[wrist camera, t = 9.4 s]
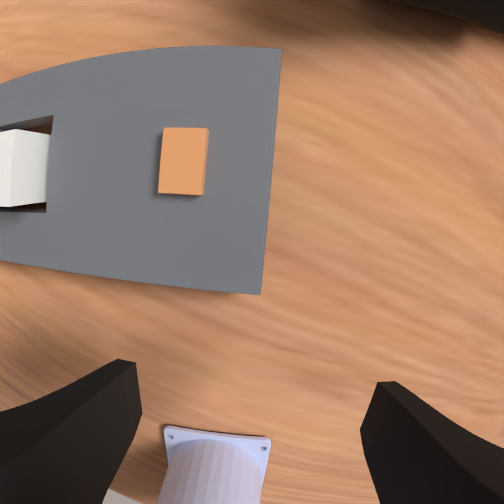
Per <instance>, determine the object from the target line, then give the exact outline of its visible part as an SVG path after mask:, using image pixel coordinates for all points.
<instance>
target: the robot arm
mask: <svg viewBox="0 0 504 504" xmlns="http://www.w3.org/2000/svg"><path fill="white" fill-rule="evenodd" d="M141 415H142V406H141V400H140V392H139V385H138V377H137V369H136V363H135V362H130V361H126V360H121V359H116V360H114V361H112V362H110V363H108V364H106V365H104V366H103V367H101V368H99V369H97V370H95V371H93V372H92V373H90V374H88V375H86V376H84V377H82V378H81V379H79V380H77V381H75V382H73V383H71V384H69V385H67V386H65V387H63V388H61V389H59V390H57V391H55V392H53V393H50V394H48V395H46V396H44V397H42V398H39V399H37V400H35V401H32V402H29V403H27V404H24V405H21V406H18V407H15V408H12V409H8V410H5V411H1V412H0V504H102V502H103V499H104V497H105V495H106V492H107V490H108V488H109V486H110V484H111V482H112V480H113V478H114V476H115V474H116V472H117V470H118V468H119V466H120V465H121V463H122V461H123V459H124V457H125V455H126V453H127V451H128V449H129V447H130V445H131V443H132V441H133V439H134V436H135V433H136V430H137V428H138V425H139V422H140V419H141ZM360 433H361V439H362V445H363V450H364V455H365V459H366V462H367V465H368V468H369V471H370V474H371V477H372V480H373V483H374V486H375V489H376V492H377V495H378V498H379V501H380V504H504V448H501V447H499V446H497V445H494V444H492V443H490V442H488V441H486V440H484V439H482V438H480V437H478V436H476V435H474V434H472V433H471V432H469V431H467V430H466V429H464V428H462V427H461V426H459V425H458V424H456V423H454V422H453V421H451V420H450V419H448V418H447V417H445V416H444V415H442V414H441V413H440V412H438V411H437V410H435V409H434V408H433V407H431V406H430V405H428V404H427V403H426V402H424V401H423V400H422V399H420V398H419V397H417V396H416V395H415V394H413V393H412V392H410V391H409V390H408V389H406V388H405V387H403V386H402V385H400V384H399V383H397V382H395V381H390V382H377V385H376V388H375V391H374V394H373V397H372V399H371V402H370V405H369V408H368V410H367V413H366V415H365V418H364V420H363V423H362V425H361V428H360ZM171 435H172V436H171ZM164 439H165V446H166V453H167V459H168V465H169V466H168V469H167V472H166V475H165V478H164V481H163V484H162V487H161V491H160V494H159V497H158V500H157V503H156V504H260V493H261V489H262V485H263V480H264V476H265V471H266V466H267V462H268V457H269V452H270V447H271V440H270V439H269V438H267V437H255V436H243V435H232V434H223V433H215V432H207V431H200V430H193V429H187V428H181V427H176V426H170V425H168V426H165V428H164Z"/></svg>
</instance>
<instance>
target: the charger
mask: <svg viewBox="0 0 504 504" xmlns="http://www.w3.org/2000/svg"><path fill="white" fill-rule="evenodd" d="M50 141H51V135H48V134H42V133H36V132H31V131H25V130H18V129H13V130H8V131H4V132H0V206H2V207H12V206H19V205H26V204H33V203H41V202H47V176H48V162H49V151H50Z"/></svg>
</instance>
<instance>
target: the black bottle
mask: <svg viewBox="0 0 504 504" xmlns="http://www.w3.org/2000/svg"><path fill="white" fill-rule="evenodd" d="M387 1H392V2H397V3H402V4H407V5H412V6H416V7H420V8H424V9H428V10H432V11H436V12H439V13H443V14H446V15H449V16H453V17H456V18H459V19H462V20H465V21H467V22H470V23H473V24H476V25H478V26H481V27H484V28H486V29H489V30H492V31H495V32H499V33H502V34H504V0H387Z"/></svg>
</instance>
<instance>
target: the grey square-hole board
mask: <svg viewBox="0 0 504 504" xmlns="http://www.w3.org/2000/svg"><path fill="white" fill-rule="evenodd" d="M281 56H282V49H274V48H261V47H243V46H188V47H170V48H157V49H147V50H138V51H130V52H123V53H116V54H110V55H104V56H99V57H93V58H88V59H84V60H79V61H75V62H70V63H66V64H62V65H58V66H54V67H51V68H47V69H44V70H40V71H37V72H34V73H30V74H27V75H24V76H21V77H18V78H15V79H12V80H10V81H7V82H4V83H2V84H0V132H4V131H8V130H13V129H18V130H24V129H30V128H35V127H41V126H47V125H52V133H51V141H50V151H49V162H48V176H47V204H46V208H14V206H12V207H2V206H0V260H3V261H8V262H14V263H19V264H25V265H30V266H36V267H42V268H48V269H54V270H60V271H66V272H72V273H79V274H85V275H92V276H99V277H106V278H113V279H120V280H128V281H135V282H143V283H151V284H159V285H167V286H175V287H184V288H193V289H202V290H211V291H221V292H231V293H241V294H252V295H261V285H262V274H263V264H264V254H265V243H266V233H267V222H268V211H269V200H270V189H271V178H272V167H273V155H274V144H275V132H276V120H277V107H278V95H279V82H280V69H281Z"/></svg>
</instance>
